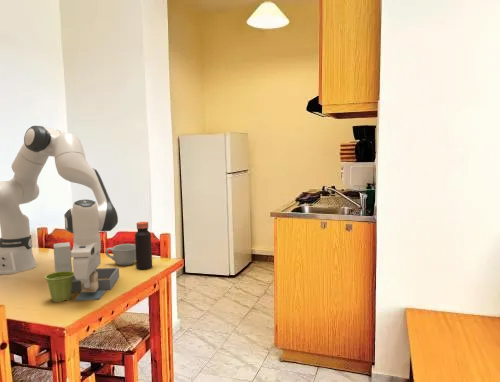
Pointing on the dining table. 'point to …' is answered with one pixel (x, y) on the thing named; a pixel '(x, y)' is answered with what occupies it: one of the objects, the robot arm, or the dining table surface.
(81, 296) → the pad
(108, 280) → the bin
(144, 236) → the bottle
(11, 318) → the dining table surface
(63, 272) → the plant pot
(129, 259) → the teacup
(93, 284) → the block
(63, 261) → the small box
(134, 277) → the dining table surface
